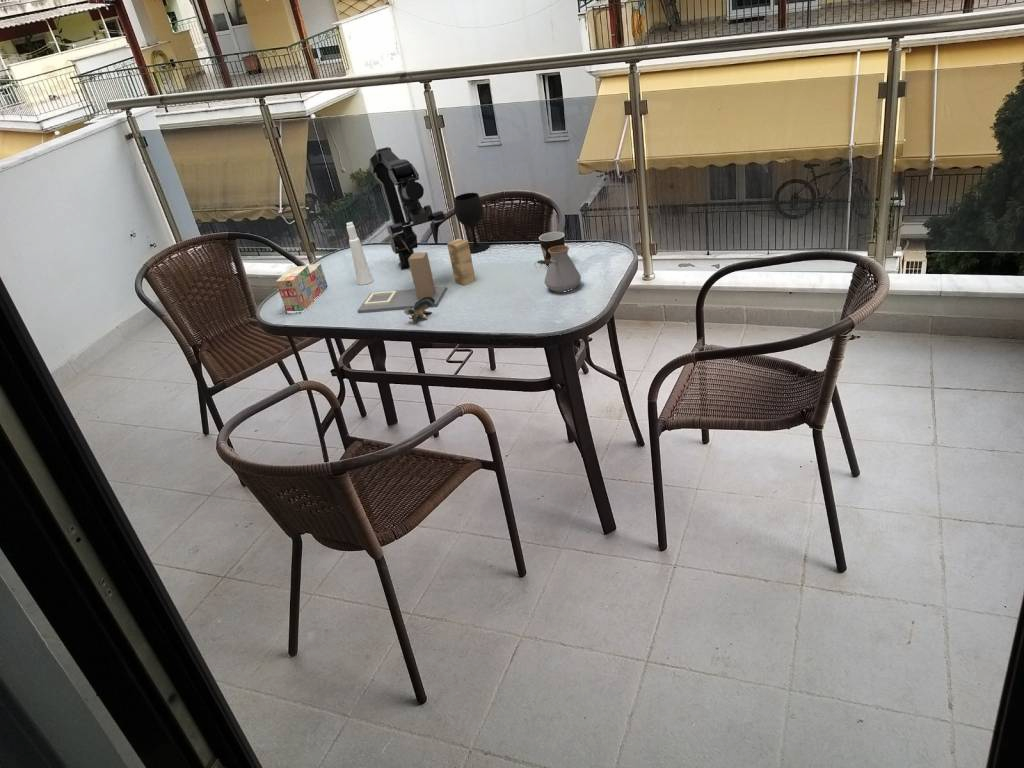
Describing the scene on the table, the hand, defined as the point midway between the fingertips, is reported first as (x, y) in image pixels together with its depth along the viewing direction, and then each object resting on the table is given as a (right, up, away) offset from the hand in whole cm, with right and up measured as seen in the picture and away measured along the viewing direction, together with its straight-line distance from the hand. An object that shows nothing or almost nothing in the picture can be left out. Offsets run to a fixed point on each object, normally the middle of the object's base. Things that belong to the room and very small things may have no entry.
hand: (423, 248), depth 253 cm
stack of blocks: (-42, -16, +14) cm, 47 cm away
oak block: (+13, -10, +6) cm, 18 cm away
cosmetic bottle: (-23, -9, +21) cm, 33 cm away
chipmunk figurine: (+1, -25, -16) cm, 30 cm away
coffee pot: (+43, -17, -16) cm, 50 cm away
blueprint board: (-7, -18, -1) cm, 19 cm away
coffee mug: (+44, -4, +7) cm, 45 cm away
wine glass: (+16, +6, +33) cm, 37 cm away
